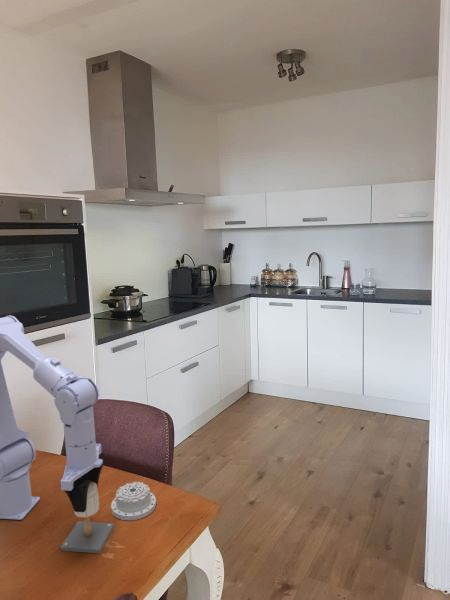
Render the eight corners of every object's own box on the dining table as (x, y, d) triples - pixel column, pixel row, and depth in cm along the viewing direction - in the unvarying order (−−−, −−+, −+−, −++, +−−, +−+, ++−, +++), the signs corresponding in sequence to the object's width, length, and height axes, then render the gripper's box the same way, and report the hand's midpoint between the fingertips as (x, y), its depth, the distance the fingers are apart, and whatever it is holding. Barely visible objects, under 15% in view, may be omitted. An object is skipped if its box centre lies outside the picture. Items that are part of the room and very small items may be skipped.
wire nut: (71, 516, 92) (68, 493, 91) (81, 502, 96) (79, 480, 96) (93, 517, 91) (91, 494, 90) (102, 503, 96) (100, 481, 95)
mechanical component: (103, 519, 101) (146, 524, 99) (102, 501, 101) (145, 505, 99) (122, 493, 111) (162, 497, 109) (121, 476, 110) (161, 479, 108)
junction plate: (60, 550, 92) (59, 532, 91) (78, 524, 99) (77, 507, 99) (99, 553, 90) (98, 534, 90) (114, 526, 98) (113, 509, 98)
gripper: (84, 459, 84) (89, 527, 86) (113, 425, 98) (117, 483, 100) (47, 458, 85) (53, 525, 87) (81, 423, 99) (86, 482, 101)
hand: (85, 503), depth 94 cm, fingers closed on wire nut, 5 cm apart
